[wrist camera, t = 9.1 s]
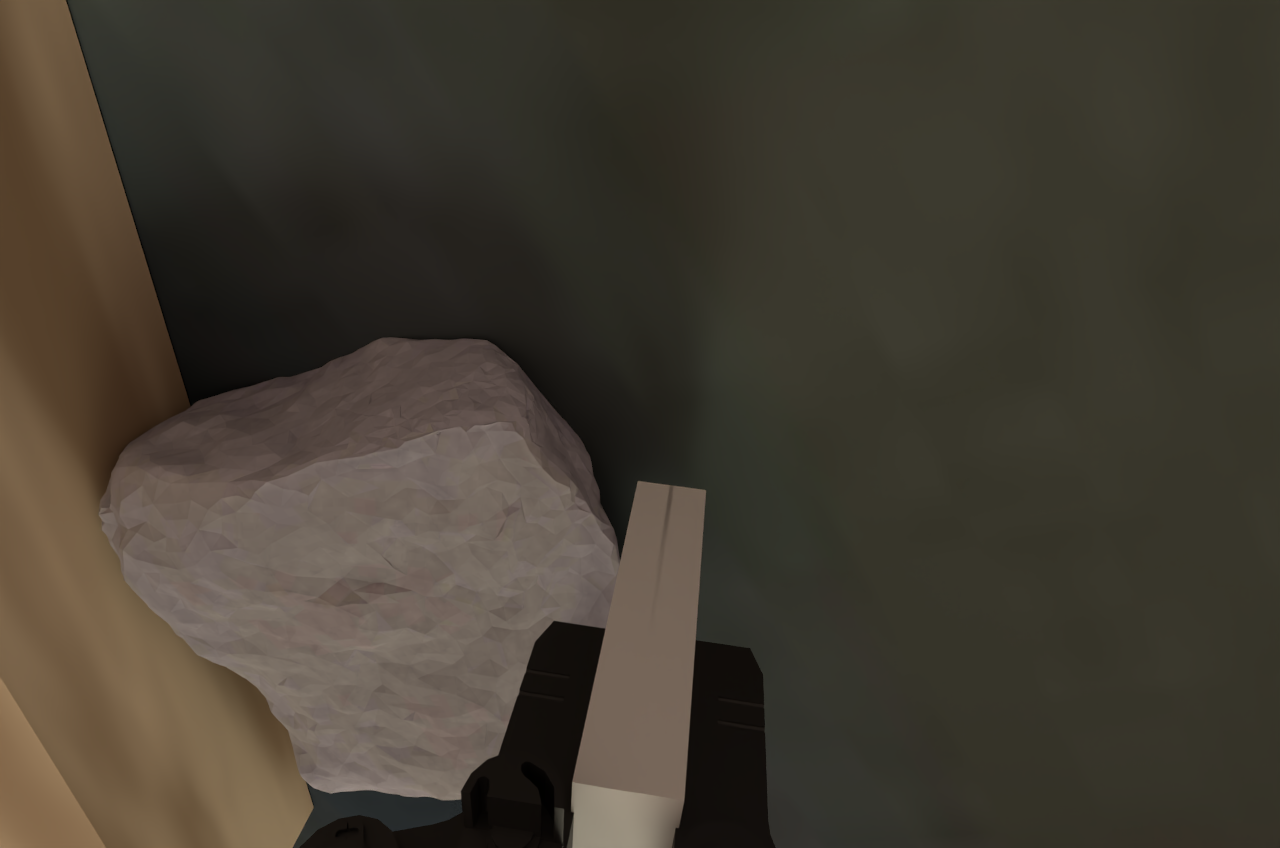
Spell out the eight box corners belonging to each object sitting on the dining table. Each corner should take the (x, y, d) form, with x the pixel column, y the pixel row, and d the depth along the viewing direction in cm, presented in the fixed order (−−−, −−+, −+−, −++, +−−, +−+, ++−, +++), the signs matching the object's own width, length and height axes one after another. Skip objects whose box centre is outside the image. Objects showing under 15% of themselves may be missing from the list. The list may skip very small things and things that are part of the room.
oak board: (-135, -654, 9) (-1433, -1641, 3) (313, 807, 25) (206, 1010, 20) (-355, -660, 9) (-1903, -1607, 4) (234, 794, 25) (109, 992, 20)
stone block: (542, 271, 16) (138, 398, 16) (533, 360, 11) (-10, 526, 12) (676, 627, 22) (375, 710, 22) (701, 772, 17) (331, 868, 18)
